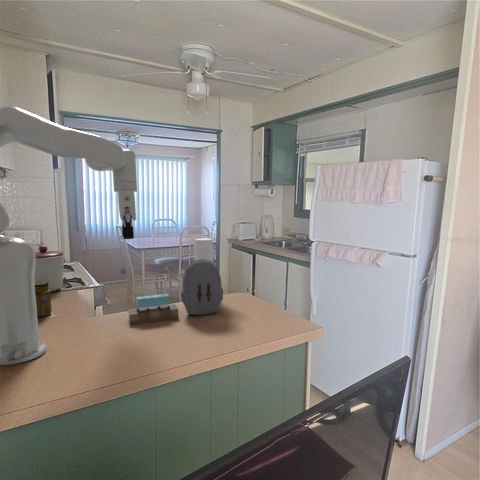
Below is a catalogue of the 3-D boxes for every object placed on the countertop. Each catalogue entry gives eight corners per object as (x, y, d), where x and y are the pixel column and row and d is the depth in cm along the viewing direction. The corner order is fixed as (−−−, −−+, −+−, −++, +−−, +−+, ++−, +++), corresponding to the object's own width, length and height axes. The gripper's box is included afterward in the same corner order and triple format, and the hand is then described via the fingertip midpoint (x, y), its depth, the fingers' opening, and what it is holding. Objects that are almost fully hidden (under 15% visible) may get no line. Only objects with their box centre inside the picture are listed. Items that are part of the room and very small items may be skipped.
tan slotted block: (178, 318, 118) (178, 308, 118) (130, 324, 112) (129, 314, 112) (175, 313, 124) (175, 303, 123) (129, 319, 118) (128, 309, 118)
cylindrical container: (197, 301, 138) (196, 240, 135) (195, 297, 144) (193, 238, 142) (215, 300, 140) (213, 239, 137) (212, 295, 146) (210, 238, 144)
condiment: (51, 311, 128) (48, 280, 127) (56, 317, 122) (53, 284, 120) (28, 315, 124) (26, 283, 122) (32, 321, 117) (29, 287, 116)
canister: (62, 283, 172) (60, 242, 170) (72, 290, 159) (69, 245, 156) (20, 290, 161) (17, 245, 159) (26, 297, 147) (22, 249, 145)
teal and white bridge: (169, 318, 119) (168, 295, 118) (138, 322, 115) (137, 299, 114) (168, 315, 121) (167, 293, 120) (137, 319, 118) (136, 297, 117)
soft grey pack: (221, 308, 128) (220, 256, 126) (225, 315, 120) (224, 260, 118) (180, 312, 124) (178, 258, 122) (182, 320, 116) (181, 262, 114)
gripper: (139, 186, 109) (141, 239, 110) (135, 188, 125) (137, 234, 126) (114, 186, 106) (116, 240, 108) (113, 188, 122) (115, 235, 124)
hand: (127, 237), depth 117 cm, fingers open, 9 cm apart
